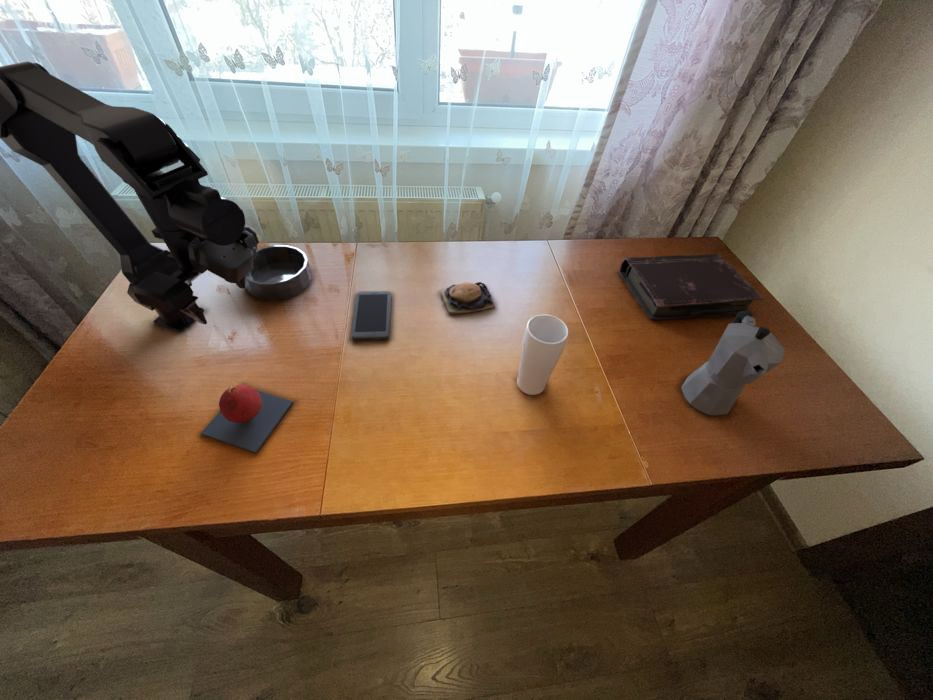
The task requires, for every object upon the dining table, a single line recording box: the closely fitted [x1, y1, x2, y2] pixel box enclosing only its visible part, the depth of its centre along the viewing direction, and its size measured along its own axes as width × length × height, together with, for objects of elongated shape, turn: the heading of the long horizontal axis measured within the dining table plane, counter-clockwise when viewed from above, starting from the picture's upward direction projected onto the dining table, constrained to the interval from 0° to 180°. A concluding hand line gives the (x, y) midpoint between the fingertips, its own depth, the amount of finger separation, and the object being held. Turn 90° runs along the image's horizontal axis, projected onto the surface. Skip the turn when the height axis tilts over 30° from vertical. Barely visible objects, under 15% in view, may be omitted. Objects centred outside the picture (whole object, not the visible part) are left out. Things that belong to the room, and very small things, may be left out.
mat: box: [200, 389, 294, 454], centre depth 66 cm, size 10×10×1 cm
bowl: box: [245, 244, 313, 302], centre depth 87 cm, size 14×14×4 cm
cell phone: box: [351, 290, 392, 341], centre depth 83 cm, size 7×14×1 cm, turn 5°
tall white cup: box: [516, 313, 569, 396], centre depth 69 cm, size 7×7×15 cm
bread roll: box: [440, 281, 495, 315], centre depth 87 cm, size 11×8×4 cm
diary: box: [618, 253, 763, 320], centre depth 93 cm, size 19×25×5 cm
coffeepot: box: [680, 309, 786, 417], centre depth 69 cm, size 15×9×18 cm, turn 162°
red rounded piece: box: [218, 384, 262, 423], centre depth 63 cm, size 6×6×8 cm
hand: (224, 304), depth 66 cm, fingers open, 9 cm apart
